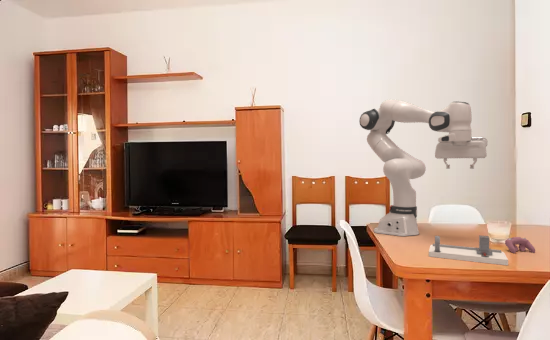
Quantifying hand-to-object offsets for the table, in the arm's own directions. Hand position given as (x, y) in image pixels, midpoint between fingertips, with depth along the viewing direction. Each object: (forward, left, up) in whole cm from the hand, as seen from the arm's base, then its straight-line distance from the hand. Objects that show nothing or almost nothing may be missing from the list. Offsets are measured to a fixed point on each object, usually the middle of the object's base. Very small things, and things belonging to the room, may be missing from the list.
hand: (459, 168), depth 152 cm
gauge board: (+2, -21, -34) cm, 40 cm away
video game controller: (+22, -3, -34) cm, 41 cm away
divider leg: (+8, -22, -32) cm, 39 cm away
